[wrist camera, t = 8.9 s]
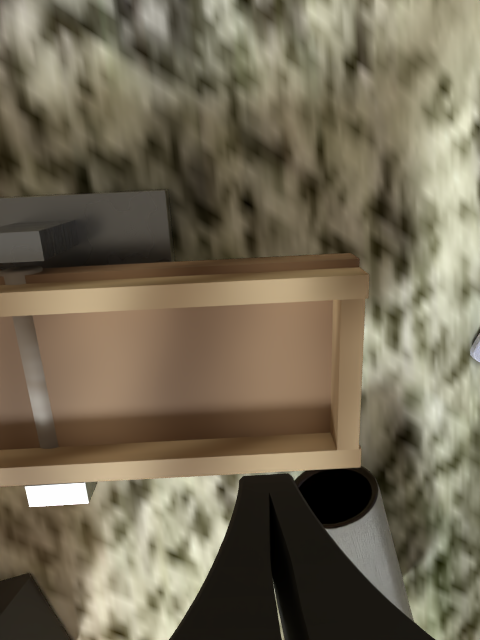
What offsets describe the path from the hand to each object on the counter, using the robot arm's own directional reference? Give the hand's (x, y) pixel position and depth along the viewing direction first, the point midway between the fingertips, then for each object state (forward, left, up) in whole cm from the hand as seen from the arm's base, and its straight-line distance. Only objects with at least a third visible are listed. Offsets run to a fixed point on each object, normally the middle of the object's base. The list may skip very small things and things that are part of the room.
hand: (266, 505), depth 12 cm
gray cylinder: (+12, +13, -8) cm, 19 cm away
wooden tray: (+2, -8, -6) cm, 10 cm away
